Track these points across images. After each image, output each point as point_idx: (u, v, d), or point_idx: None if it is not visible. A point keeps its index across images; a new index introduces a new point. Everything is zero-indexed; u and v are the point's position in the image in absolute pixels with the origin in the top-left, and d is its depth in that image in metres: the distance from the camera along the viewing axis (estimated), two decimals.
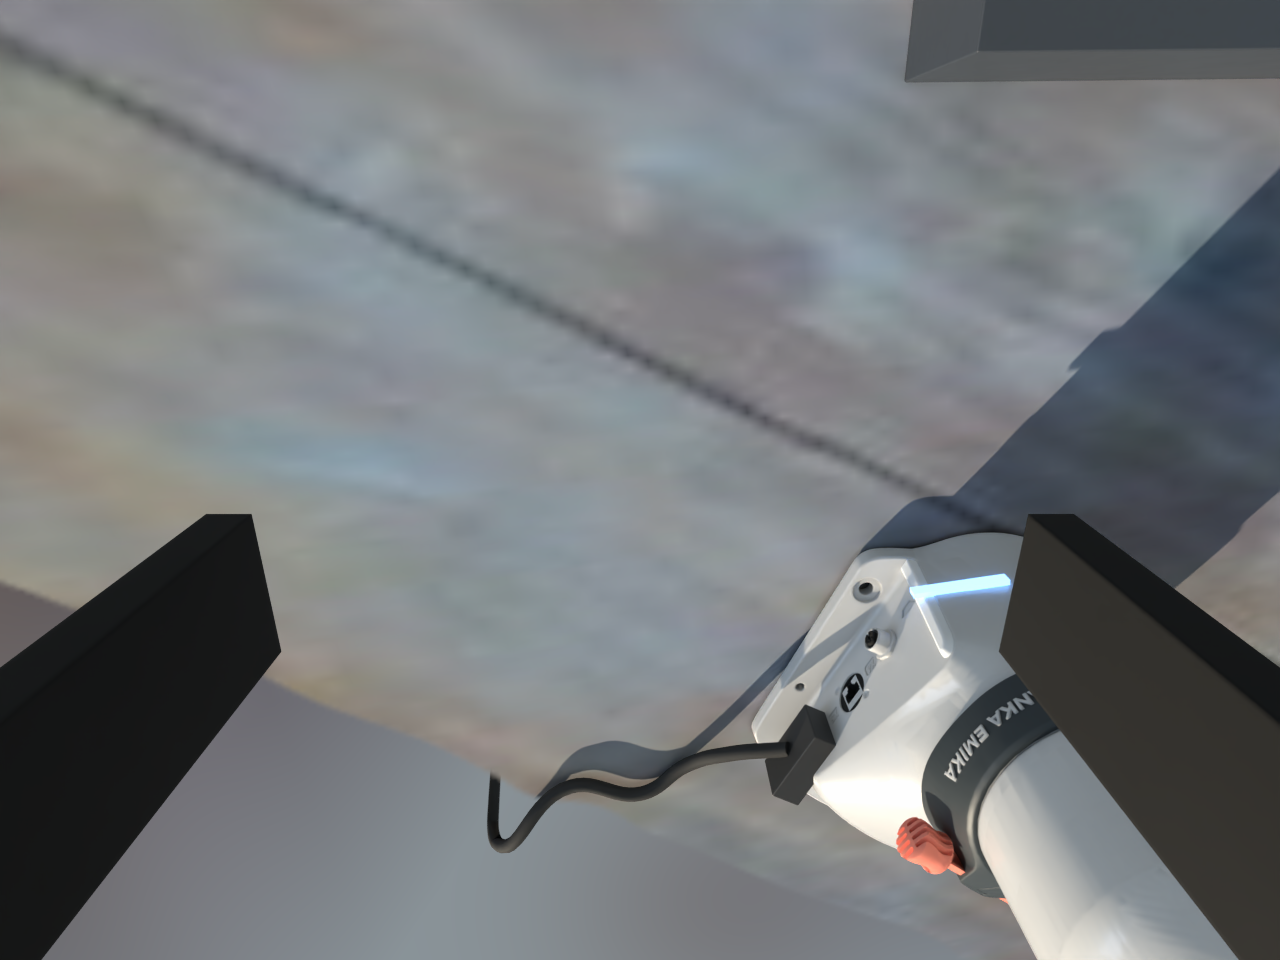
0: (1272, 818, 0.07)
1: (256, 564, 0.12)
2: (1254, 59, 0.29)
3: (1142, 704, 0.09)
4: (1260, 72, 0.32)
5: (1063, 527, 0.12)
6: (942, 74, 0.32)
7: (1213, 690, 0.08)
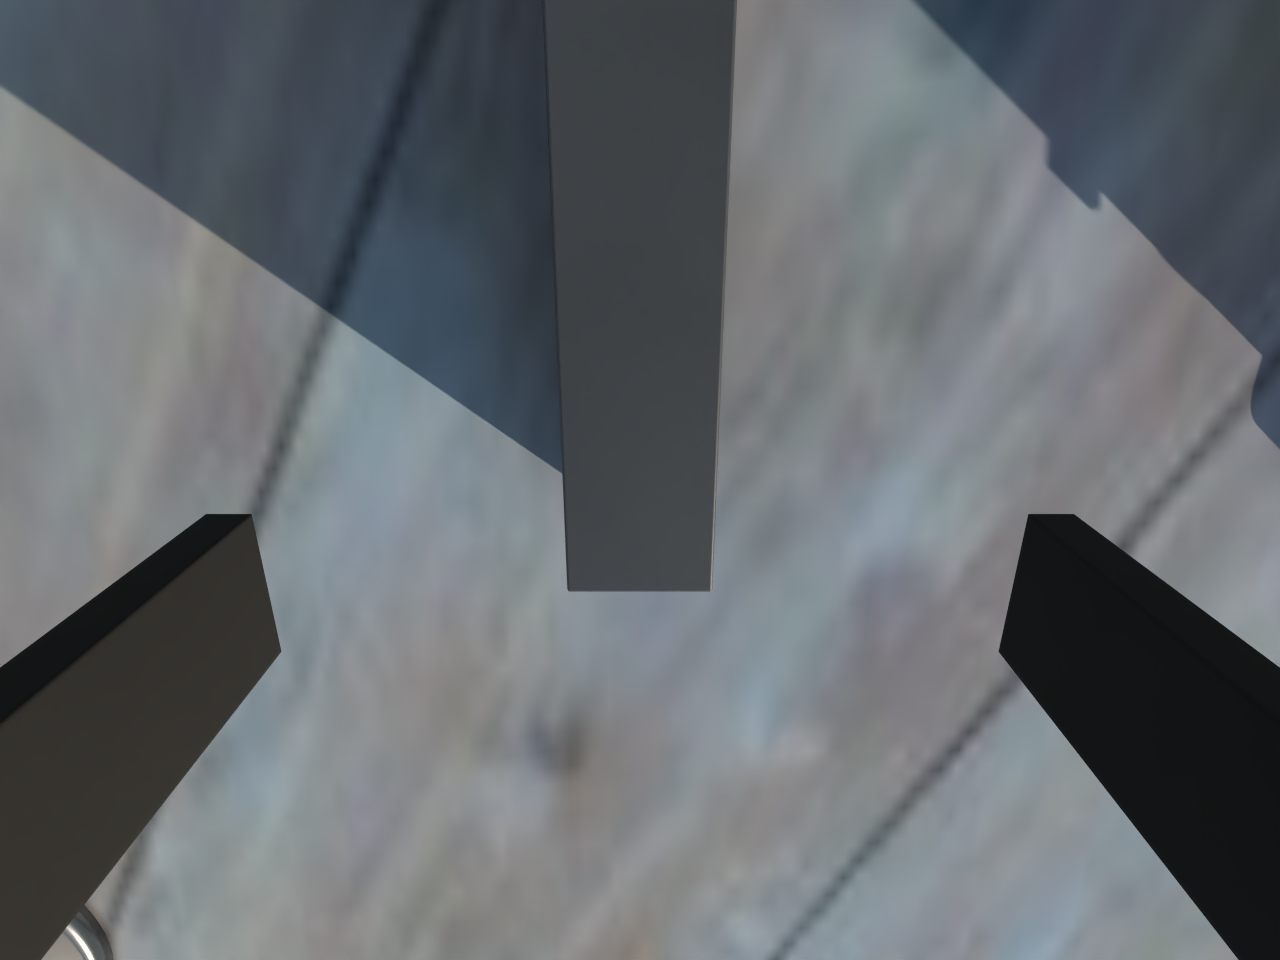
0: (1272, 818, 0.07)
1: (257, 564, 0.12)
2: None
3: (1142, 704, 0.09)
4: None
5: (1063, 527, 0.12)
6: None
7: (1214, 690, 0.08)
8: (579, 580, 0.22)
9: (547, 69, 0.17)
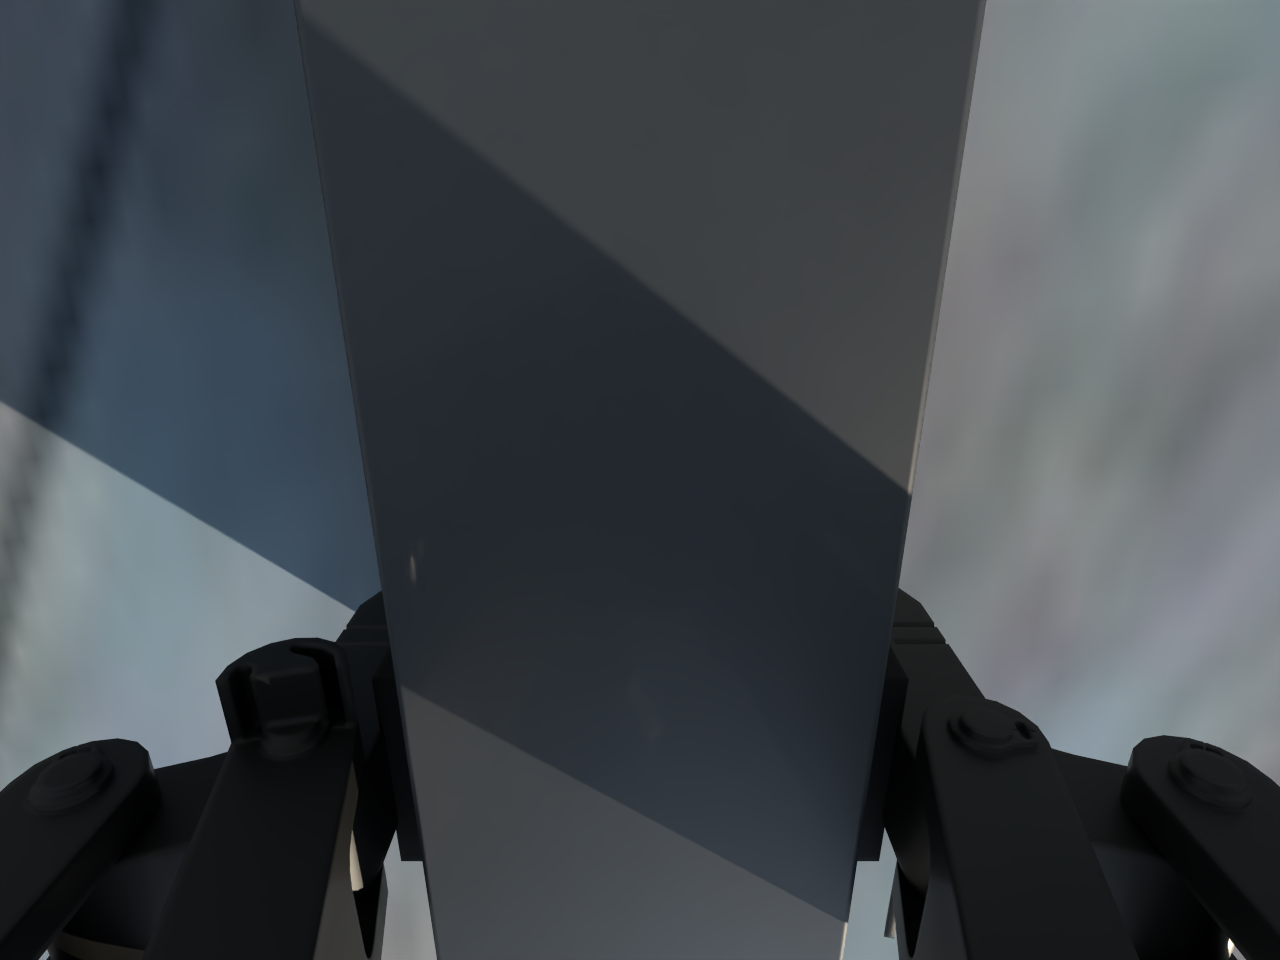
0: None
1: None
2: None
3: None
4: None
5: None
6: None
7: None
8: None
9: None
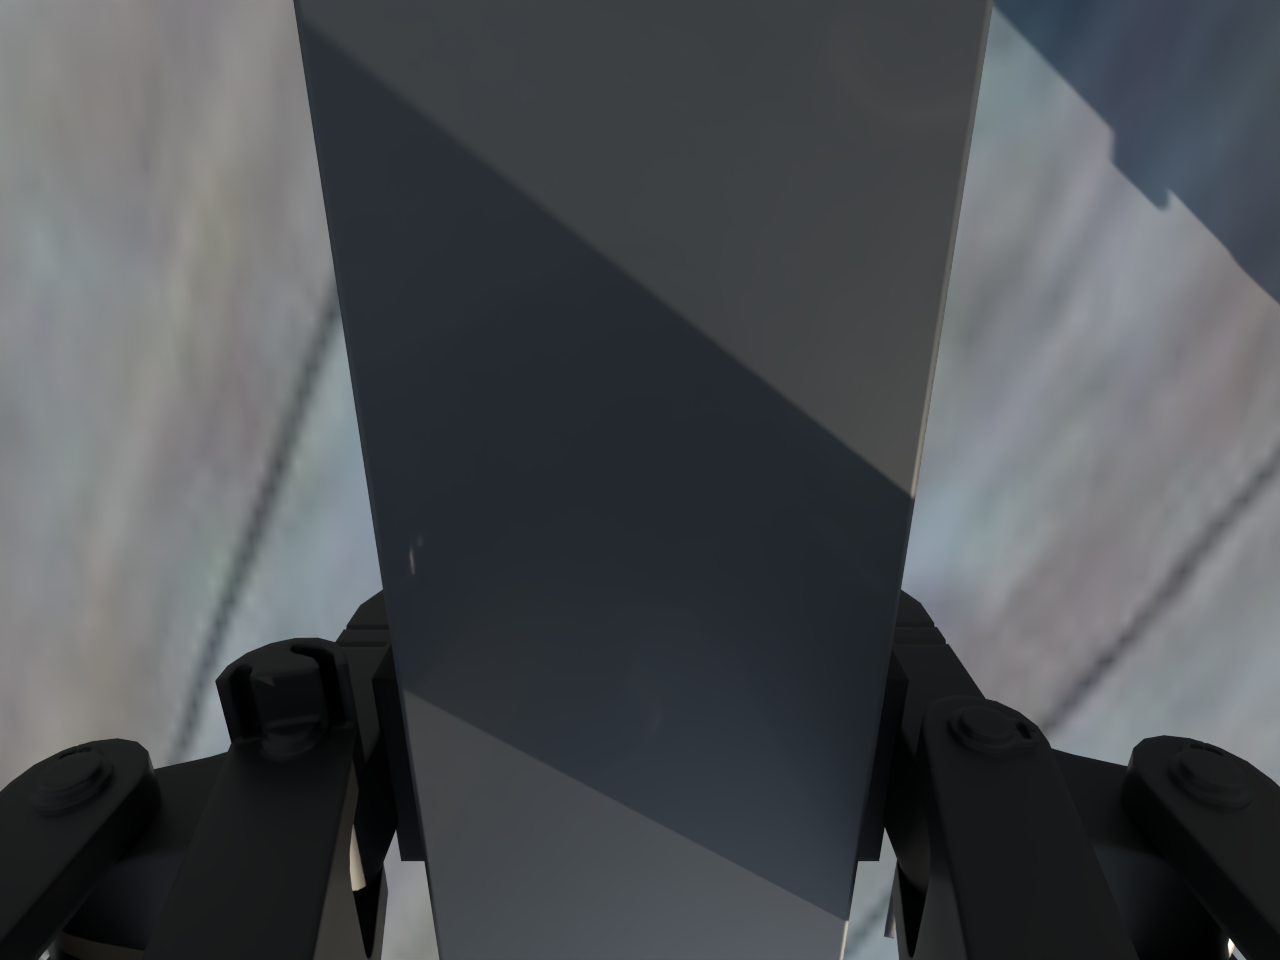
0: None
1: None
2: None
3: None
4: None
5: None
6: None
7: None
8: None
9: None
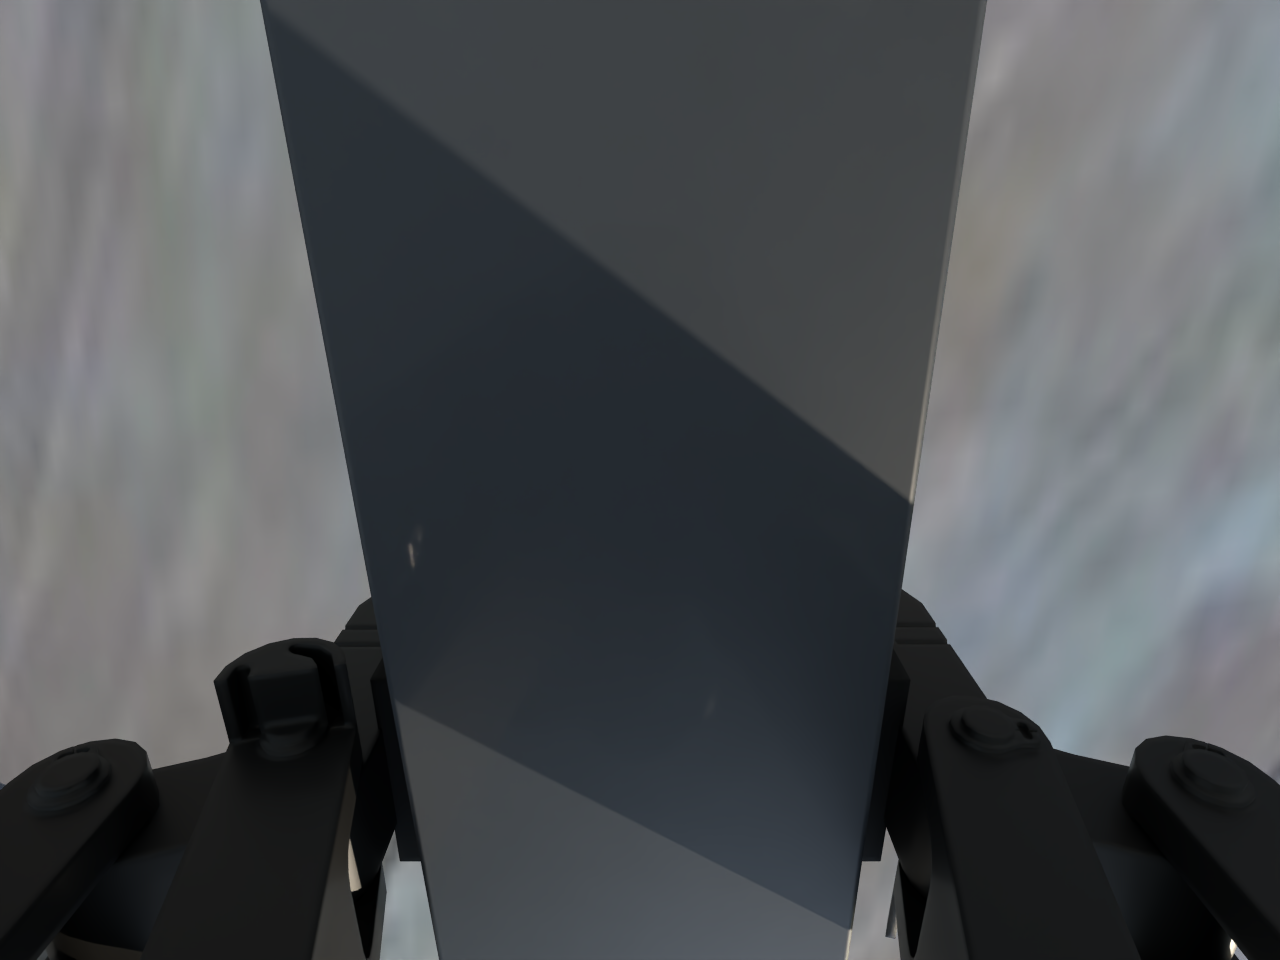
0: None
1: None
2: None
3: None
4: None
5: None
6: None
7: None
8: None
9: None
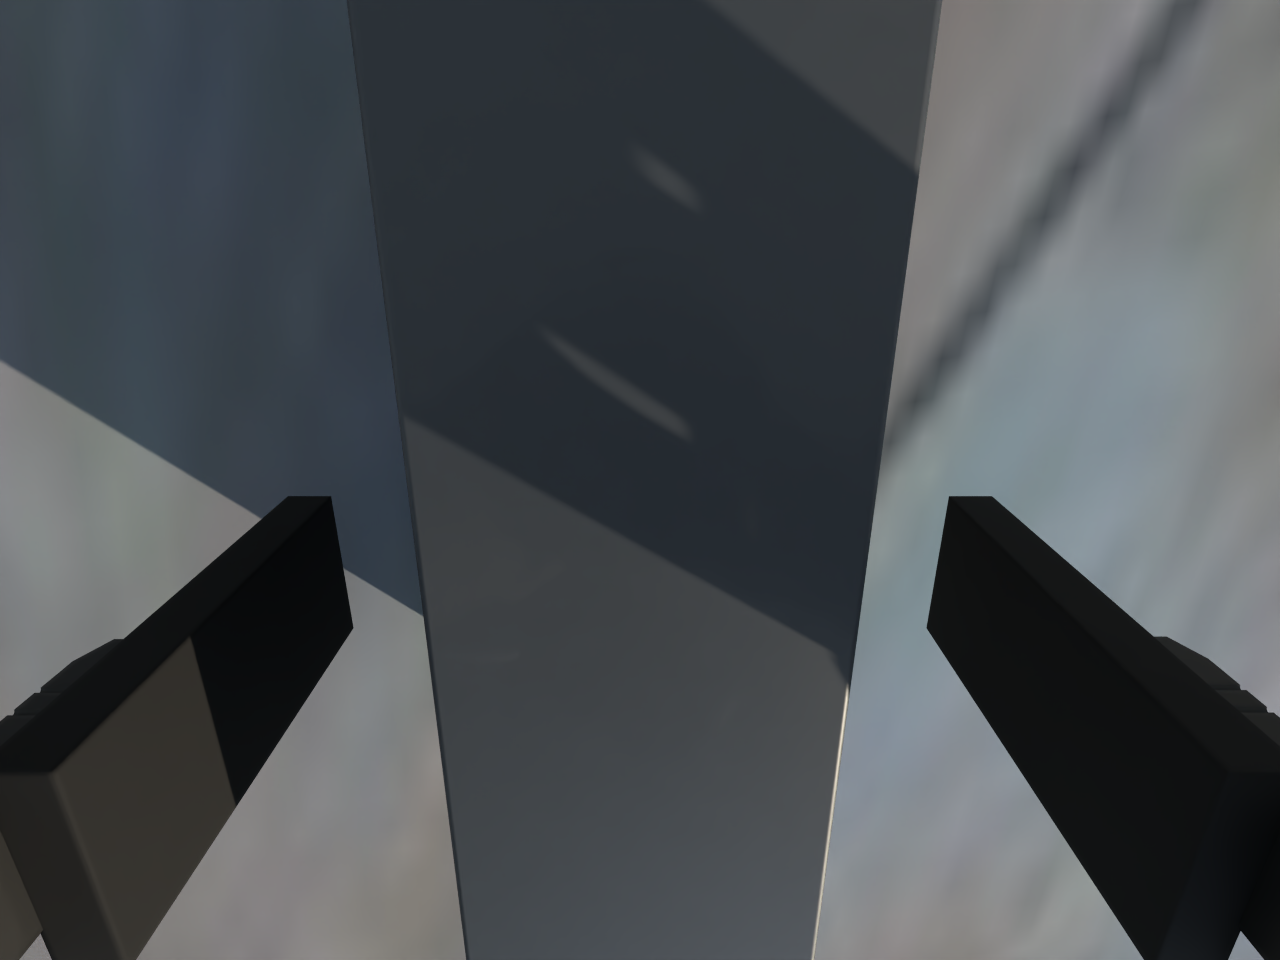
0: (1126, 764, 0.08)
1: (335, 543, 0.13)
2: None
3: (1033, 668, 0.10)
4: None
5: (979, 508, 0.12)
6: None
7: (1084, 651, 0.09)
8: None
9: None
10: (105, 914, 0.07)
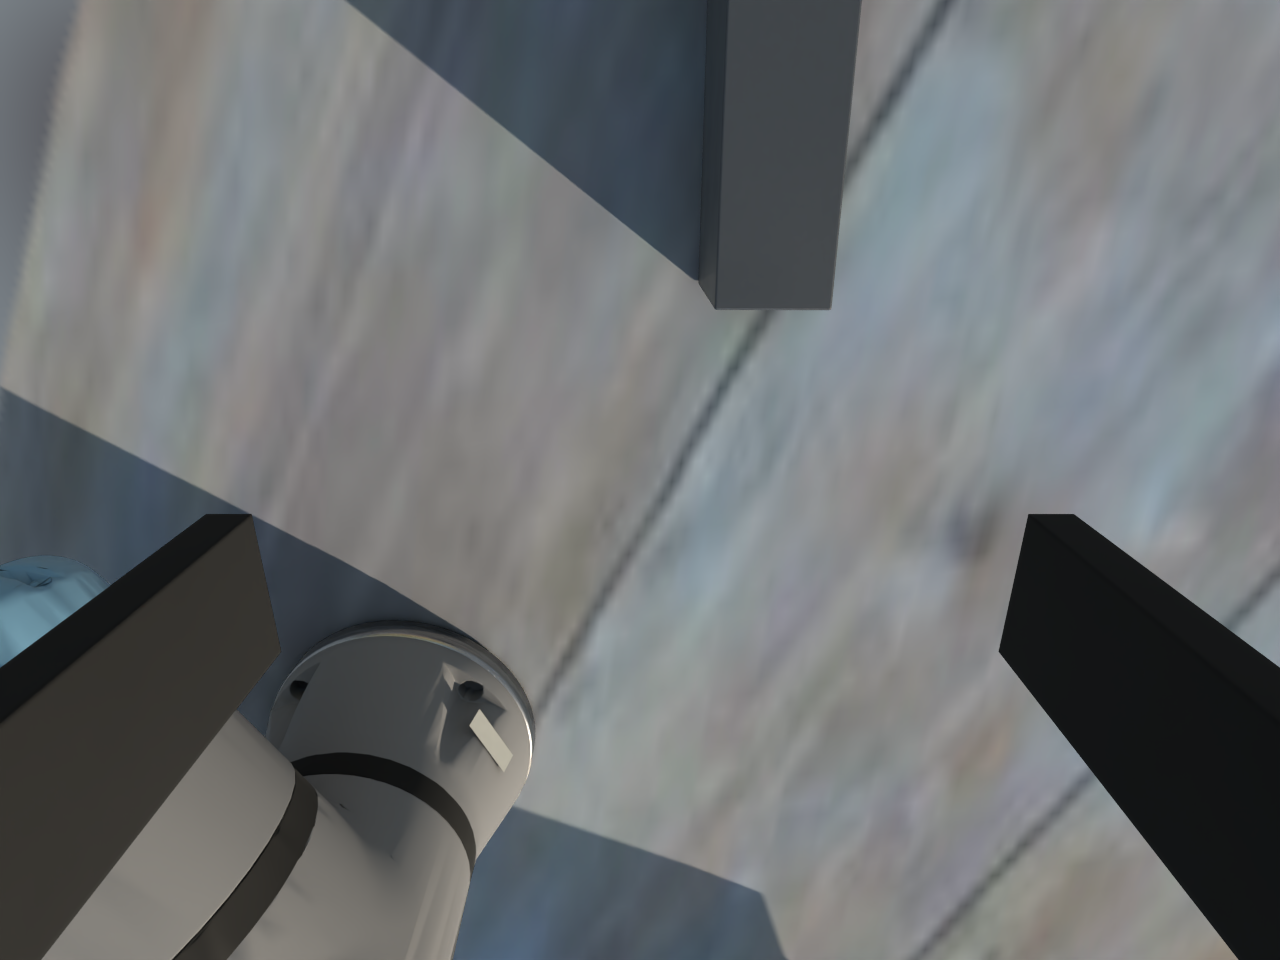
0: (1272, 818, 0.07)
1: (256, 564, 0.12)
2: None
3: (1142, 704, 0.09)
4: None
5: (1063, 527, 0.12)
6: None
7: (1213, 690, 0.08)
8: (725, 298, 0.27)
9: None
10: None
